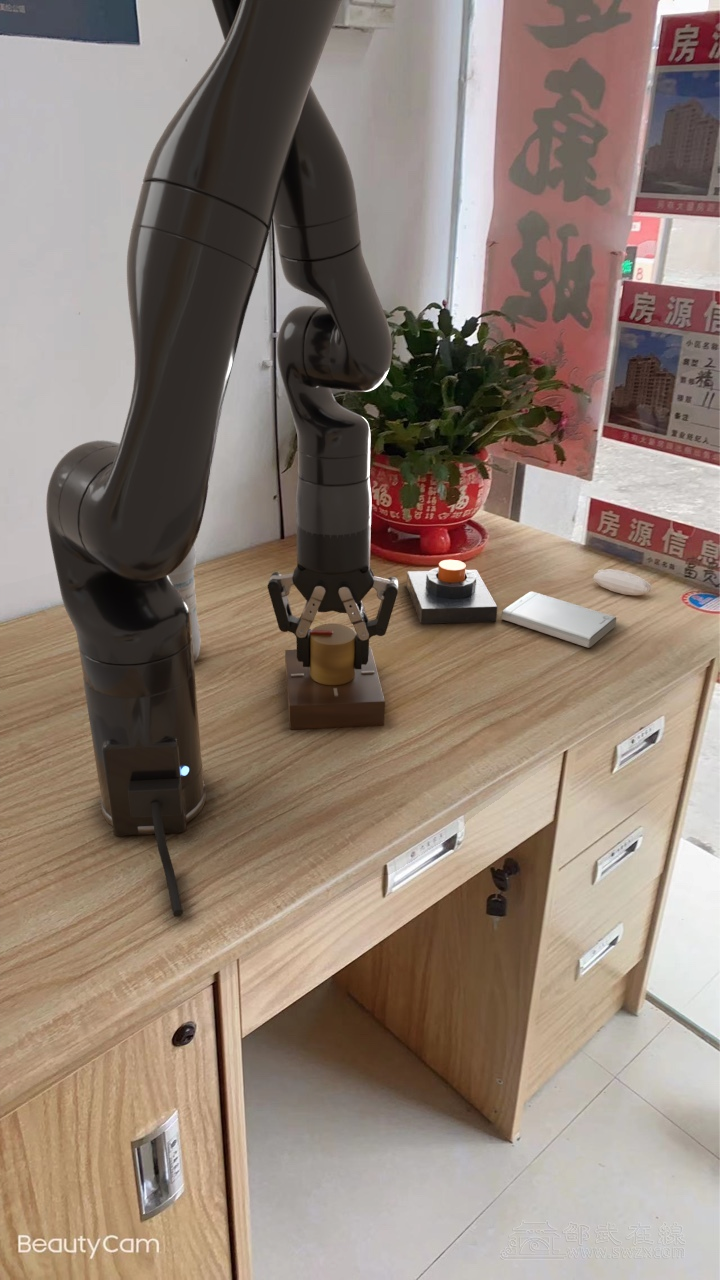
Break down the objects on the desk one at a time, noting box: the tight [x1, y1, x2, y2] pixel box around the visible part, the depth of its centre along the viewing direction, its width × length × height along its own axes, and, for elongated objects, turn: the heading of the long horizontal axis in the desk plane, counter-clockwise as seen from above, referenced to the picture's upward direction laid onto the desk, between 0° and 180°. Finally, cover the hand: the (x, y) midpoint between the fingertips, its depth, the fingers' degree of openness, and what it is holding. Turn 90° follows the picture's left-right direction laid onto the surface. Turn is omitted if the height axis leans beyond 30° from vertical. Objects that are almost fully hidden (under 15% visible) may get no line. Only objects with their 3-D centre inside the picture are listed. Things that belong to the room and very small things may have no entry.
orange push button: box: [438, 559, 467, 583], centre depth 118 cm, size 4×4×2 cm
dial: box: [310, 623, 356, 685], centre depth 96 cm, size 5×5×5 cm
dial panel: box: [284, 646, 386, 730], centre depth 98 cm, size 12×10×3 cm
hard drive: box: [500, 590, 617, 649], centre depth 115 cm, size 2×8×12 cm
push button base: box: [405, 566, 498, 625], centre depth 120 cm, size 12×10×4 cm
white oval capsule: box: [592, 568, 652, 596], centre depth 124 cm, size 3×8×3 cm, turn 54°
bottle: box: [169, 544, 202, 662], centre depth 101 cm, size 7×7×20 cm
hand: (333, 664), depth 97 cm, fingers closed on dial, 5 cm apart
